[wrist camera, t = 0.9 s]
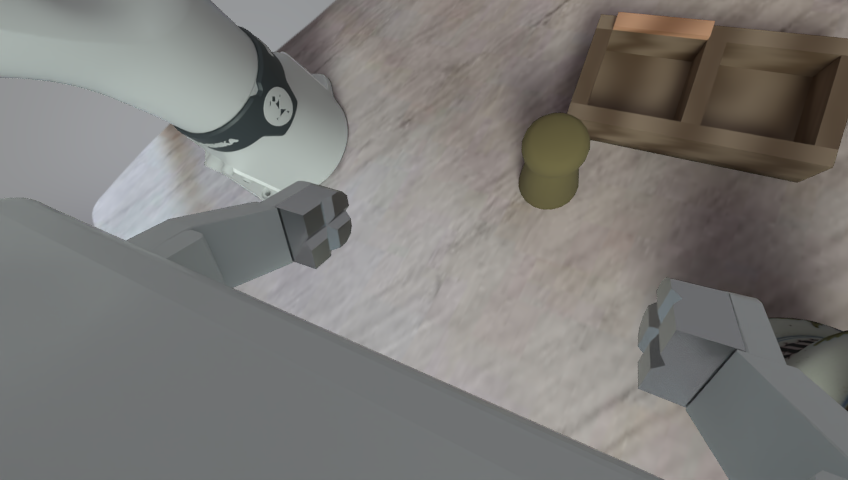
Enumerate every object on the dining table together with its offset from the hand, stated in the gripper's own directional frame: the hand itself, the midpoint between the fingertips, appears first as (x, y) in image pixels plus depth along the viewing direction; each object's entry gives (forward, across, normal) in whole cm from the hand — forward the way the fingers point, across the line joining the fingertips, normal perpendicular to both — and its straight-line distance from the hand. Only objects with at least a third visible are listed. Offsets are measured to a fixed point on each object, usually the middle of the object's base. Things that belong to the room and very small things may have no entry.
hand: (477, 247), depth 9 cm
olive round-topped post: (+29, +1, +12) cm, 31 cm away
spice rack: (+37, -9, +4) cm, 38 cm away
